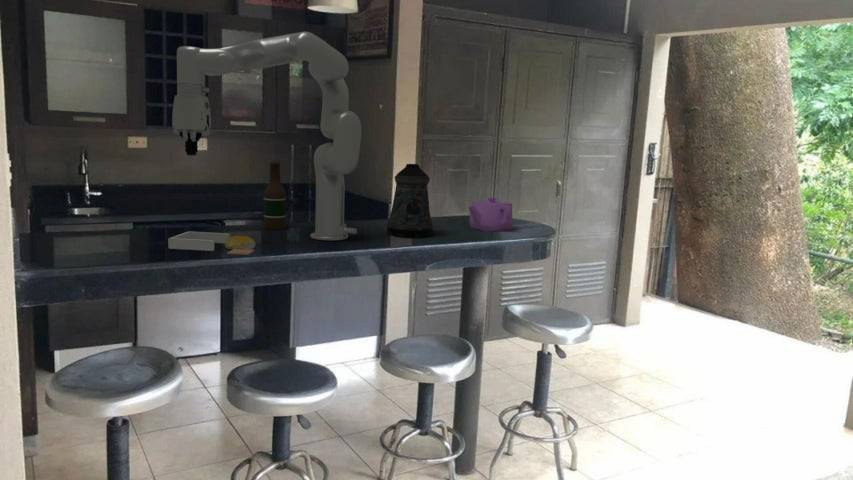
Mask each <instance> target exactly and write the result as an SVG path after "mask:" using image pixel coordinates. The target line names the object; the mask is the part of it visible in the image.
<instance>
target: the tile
mask: <svg viewBox="0 0 853 480" xmlns="http://www.w3.org/2000/svg"><path fill="white" fill-rule="evenodd" d="M254 252H255V249H251V250H249V249H230V250H229V251H228V252H226V254H227V255H239V256H240V255H241V256H244V255H245V256H249V255H251V254H252V253H254Z"/></svg>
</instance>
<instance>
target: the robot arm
mask: <svg viewBox="0 0 853 480" xmlns="http://www.w3.org/2000/svg"><path fill="white" fill-rule="evenodd" d="M301 61H302V62H303V61H306V62H308V67H307V69H308V71H309V74H310V76H311V77H312V78H313V79H314V80H315V81H316V83H318V85H319V87H320V89H321V93H322V106H321V115H320V127H319V128H320V131H321V133H322V135H323V137H325V138H327V139H331V140H333V142H332V143H331V142H327V143H323V144H321V145H319V146H318V147H316V149H315V152H314V155H313V165H314V166H313V167H314V173H315V222H314V225H315V227H314V228H315V229H314V230H315V232H312V233H310V238H311V239H312V240H319V241H342V240H343V241H344V240H347V239H349V234H350V235H356V234H357V230H358V229H357V228H354V227H348V226H347V224H346V223H345V192H346V191H345V189H346V187H345V178H344V175H349V174H351V173H352V172H354V171H355V169H356V167H357V166H358V163H359V158H360V150H361V139H362V123H361V120H360V118H359V116H358V115H357V113H355V112H353V111H351V110H349V101H350V99H349V97H350V96H349V95H350V94H349V88H348V85H347V83H346V81H345V77H346V76H347V75H348V73H349V69H350V68H349V66H350V65H349V63H348V59H347V58H346V57H345V56H344V55H343V53H341V52H340V51H338V50H337V49H335V48H334V47H333V46H332V45H330V44H329V43H327V42H326V41H325V40H323V39H322V38H320V37H319V36H317V35H316V34H314V33H312V32H310V31H300V32H293V33H289V34H283V35H277V36H272V37H270V36H269V37H266V38H261V39H260V38H259V39H255V40H251V41H246V42H244V43H239V44H235V45H231V46H226V47H225V46H224V47H218V48H201V47H198V46H187V45H186V46H184V45H183V46H182V45H181V46H179V47H177V50H176V81H177V82H176V83H177V84H176V85H177V86H176V90H177V91H176V94H177V95H176V94H175V95H174V98H173V99H174V100H173V106H172V113H171V115H172V117H171V118H172V120H171V121H172V122H171V125H172V128H173V129H172V134H175V135H178V136H180V137H181V138H182V140H183V141H184V142H185V143H184V144H185V145H184V146H185V147H184V148H185V149H184V151H185V153H186V156H197V153H198V151H199V150H198V146H199V145H198V142H199V141H200V139H202V137H206V136H209V135H211V132H210V130H211V128H212V118H211V117H212V116H211V108H210V101H209V98H208V96H206V93H209V92H210V88H209V87H206V85H205V84H206V83H205V81H206V80H205V77H206V76H207V77H215V76H224V75H227V74H229V73H232V72H239V71H246V70H248V71H249V70H260V69H266V68H272V67H277V66H281V65H288V64H291V63H296V62H297V63H298V62H301Z"/></svg>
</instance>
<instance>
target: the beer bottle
mask: <svg viewBox="0 0 853 480" xmlns="http://www.w3.org/2000/svg"><path fill="white" fill-rule="evenodd" d="M280 166H281V162H280V161H276V160H275V161H273V160H272V161H270V162H269V178H268V179H269V180H268V185H267V186H266V188H265V189H264V192H263V228H264V229H265V230H266V231H267V230H268V231H282V229H283V230H285V229H286V227H287V225H286V224H287V221H286V220H287V201H286V200H287V195H286V191H285V188H284V187H283V185H282V184H281V183H282V181H281V168H280Z"/></svg>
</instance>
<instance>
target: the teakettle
mask: <svg viewBox="0 0 853 480" xmlns="http://www.w3.org/2000/svg"><path fill="white" fill-rule="evenodd" d="M468 209H469V212H470V214H469V226H470V227H469V228H471V229H475V230H479V231H485V232H493V233H494V232H504V231H505V232H506V231H508V232H509V231H511V229H512V228H513V203H509V202H505V201H499V200H497V197H495V196H494V197H493V196H489V197H487V200H474V201H471V205H470V206H468Z"/></svg>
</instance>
